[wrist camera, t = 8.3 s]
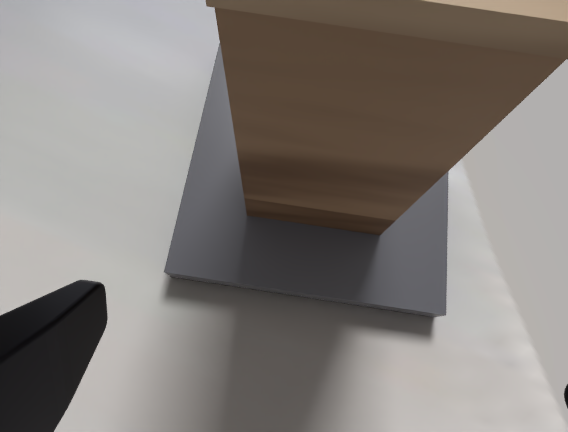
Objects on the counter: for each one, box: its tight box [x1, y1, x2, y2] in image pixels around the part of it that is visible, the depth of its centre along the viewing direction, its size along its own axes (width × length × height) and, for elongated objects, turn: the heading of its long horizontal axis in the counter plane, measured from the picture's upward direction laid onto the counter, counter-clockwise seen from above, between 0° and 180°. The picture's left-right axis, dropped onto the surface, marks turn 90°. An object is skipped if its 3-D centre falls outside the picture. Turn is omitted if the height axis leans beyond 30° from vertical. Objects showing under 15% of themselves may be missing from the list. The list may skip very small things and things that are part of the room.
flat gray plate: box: [164, 44, 448, 317], centre depth 18 cm, size 12×12×3 cm
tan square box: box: [206, 0, 568, 235], centre depth 13 cm, size 6×6×12 cm
